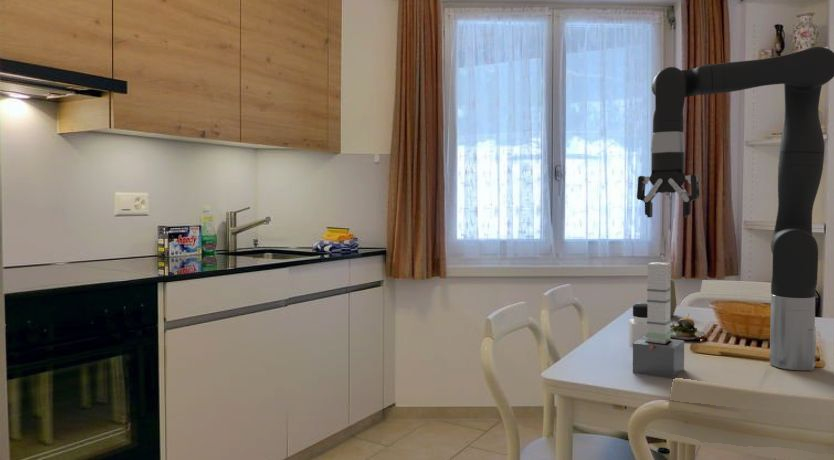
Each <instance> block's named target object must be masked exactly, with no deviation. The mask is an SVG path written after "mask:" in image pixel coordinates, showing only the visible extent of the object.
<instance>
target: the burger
mask: <svg viewBox="0 0 834 460" xmlns="http://www.w3.org/2000/svg"><path fill="white" fill-rule="evenodd" d="M689 315H690V314H688V316H687V317H682V318H680V319H678V322H677V325H675V324H674V323H672V325H671V324H670V331H671V337H670V338H672V339H677V340H698V341H699V340H700V339H704V340H705V338H706V333H705V332H704V331H700V330H698V328H697V327H695V322H694V320H693V319H691V318H690V317H689ZM699 336H701V337H699ZM706 339H707V338H706Z"/></svg>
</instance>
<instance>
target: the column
mask: <svg viewBox="0 0 834 460" xmlns="http://www.w3.org/2000/svg"><path fill="white" fill-rule="evenodd" d="M671 264H672V263H671V262H661V261H660V262H657V261H654V262H653V261H652V262H649V263H647V288H646V291H647V299H646V302H647V303H648V312H647V336H646V338H647V342H653V343H661V344H666V343H668V342H669V341H670V339H671V338H672V337H671V331H670V329H671V328H670V326H671V322H672V320H671V316H670V301H671V280H672V272H671V271H672V265H671Z"/></svg>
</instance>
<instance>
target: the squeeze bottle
mask: <svg viewBox="0 0 834 460" xmlns="http://www.w3.org/2000/svg"><path fill="white" fill-rule="evenodd" d="M675 286H676V285H675V281H674V280H673V279H671V301H670V317H673V316H674V315H675V312H676V308H677V306H678V305H677V296H676V287H675Z"/></svg>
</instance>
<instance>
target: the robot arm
mask: <svg viewBox="0 0 834 460" xmlns="http://www.w3.org/2000/svg"><path fill="white" fill-rule="evenodd" d="M833 78H834V51H832V49H829V48H827V47H824V46H812V47H808V48H806V49H803V50H800V51H795V52H792V53H789V54H788V53H787V54H783V55H780V56H773V57H768V58H762V59H761V58H760V59H752V60H742V61H740V60H739V61H731V62H720V63H713V64H704V65H699V66H698V67H695V68H691V69H690V68H689V69H682V70H681V69H680V68H678V67H676V66H668V67H665V68H662V69H661V70H660V71H659V72H658V73H657V74H656V75H655V77H654V78H653V80H652V82H651V87H650V88H651V91H652V94H653V95H654V97H655V103H654V105H655V106H654V107H655V109H654V112H653V115H652V116H653V117H652V137H651V138H652V139H651V146H650V147H651V148H650V152H651V169H650V170H651V171H650V172H651V174H650V176H645V175H639V176H638V178H637V188H636V189H637V190H636V198H637V201H638V200H639V201H642V202H643V203H644V215H645V216H646V217H647V218H653V212H654V211H653V204H654V203H653V202H652V201H653V199H655V197H656V196H657V195H658V194H659V193H661V194H663V193H664V194H665V193H669V194H670V193H671V194H672V193H673V194H674V193H676V194H677V195H679V196H680V198H681V199H682V200H683V201H684V202H683V203H682V218H685V219H686V218H688V217H689V216H691V214H692V202H693V201H695V200H698V199H699V198H700V183H699V175H698V174H695V173H694V174H693V173H692V174H690V175H689V174H688V175H686V173H685V136H684V105H685V99H686V98H689V97H693V96H694V97H695V96H699V95H714V94H715V95H716V94H723V93H725V94H726V93H733V92H737V91H743V90H747V89H748V90H749V89H753V88H758V87H764V86H771V85H772V86H773V85H783V91H784V94H783V95H784V113H783V120H782V127H781V137H780V143H779V144H780V145H779V155H778V165H777V200H778V201H777V203H778V205H777V206H778V207H777V213H776V214H777V215H776V219H775V225H774V229H773V234H772V238H771V242H770V250H771V254H772V270H771V271H772V273H771V274H772V276H771V283H770V326H769V327H770V333H769V364H770V365H771V366H773V367H775V368H780V369H784V370H790V371H811V372H812V371H814V369H815V367H816V338H817V337H816V332H817V331H816V330H817V329H816V328H817V327H816V326H815V325H816V291H817V285H818V272H819V271H818V270H819V269H818V268H819V267H818V266H819V245H818V242H817V240H816V238H815V237H814V236H813V210H814V204H815V200H816V197H817V194H818V191H819V189H820V184H821V180H822V175H823V169H824V162H825V161H824V160H825V139H824V133H823V130H822V125H821V122H820V115H819V106H820V100H821V99H820V97H821V91H822V87H823V86H824V85H825V84H827V83H829V82H830V81H831V80H832V79H833ZM686 181H687V183H688V184H690V187H691V188H690V189H691V191H690V192H691V195H689V194H688V192H687V189H686V188H684V187H683V185H684V183H685V182H686ZM649 182H650V183H651V185H652V187H651V189H650V190H649V191H648V193H647V194H646V185H648V183H649ZM645 194H646V195H645Z"/></svg>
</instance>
